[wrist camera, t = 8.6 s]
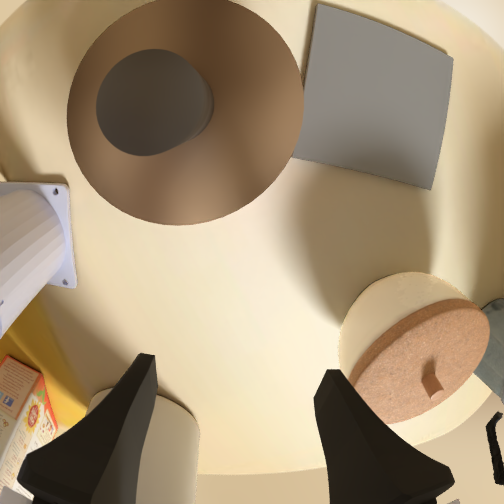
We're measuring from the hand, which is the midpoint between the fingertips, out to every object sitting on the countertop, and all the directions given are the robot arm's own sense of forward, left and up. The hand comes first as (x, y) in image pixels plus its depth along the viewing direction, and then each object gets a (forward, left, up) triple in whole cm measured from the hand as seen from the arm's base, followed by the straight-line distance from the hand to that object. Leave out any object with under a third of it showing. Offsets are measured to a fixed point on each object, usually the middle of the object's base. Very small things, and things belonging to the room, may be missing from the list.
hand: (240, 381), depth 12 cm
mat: (+7, +13, -9) cm, 18 cm away
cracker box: (-24, -22, -10) cm, 34 cm away
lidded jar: (+12, -2, -10) cm, 15 cm away
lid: (-4, +10, -5) cm, 12 cm away
